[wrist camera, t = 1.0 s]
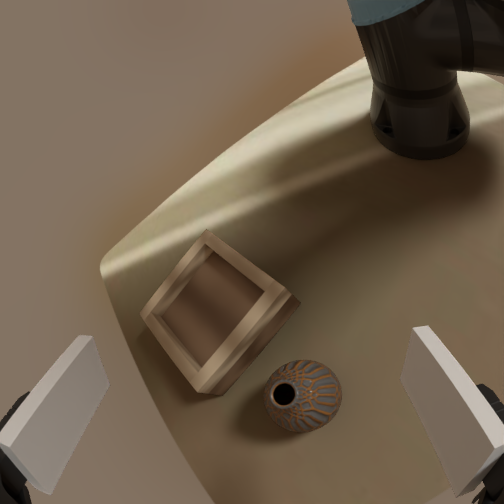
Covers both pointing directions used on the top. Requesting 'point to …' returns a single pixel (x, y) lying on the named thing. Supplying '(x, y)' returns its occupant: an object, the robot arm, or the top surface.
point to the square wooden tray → (216, 314)
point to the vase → (302, 395)
